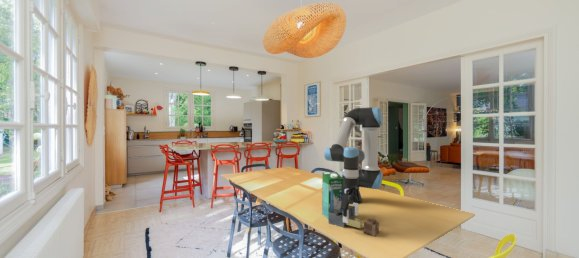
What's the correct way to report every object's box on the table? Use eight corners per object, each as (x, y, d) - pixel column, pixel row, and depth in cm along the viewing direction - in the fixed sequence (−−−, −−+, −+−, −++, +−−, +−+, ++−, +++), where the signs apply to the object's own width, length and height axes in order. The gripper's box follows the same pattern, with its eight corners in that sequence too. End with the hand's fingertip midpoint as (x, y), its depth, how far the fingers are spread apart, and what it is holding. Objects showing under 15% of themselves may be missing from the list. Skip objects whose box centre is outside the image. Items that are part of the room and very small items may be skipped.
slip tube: (332, 218, 132) (332, 201, 132) (362, 226, 121) (362, 208, 121) (329, 219, 129) (330, 203, 129) (360, 228, 119) (360, 210, 119)
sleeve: (334, 219, 133) (334, 208, 133) (349, 223, 128) (349, 212, 128) (328, 223, 128) (328, 212, 128) (343, 227, 123) (344, 216, 123)
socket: (368, 229, 121) (368, 217, 121) (378, 231, 118) (378, 219, 118) (363, 233, 116) (364, 220, 116) (374, 236, 113) (374, 223, 113)
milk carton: (328, 220, 132) (328, 175, 132) (322, 214, 141) (322, 172, 141) (343, 218, 135) (343, 174, 134) (336, 212, 144) (336, 171, 143)
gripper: (353, 172, 135) (353, 210, 135) (333, 180, 116) (333, 224, 117) (366, 174, 130) (366, 213, 131) (347, 182, 112) (347, 228, 112)
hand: (350, 218), depth 124 cm, fingers open, 12 cm apart
